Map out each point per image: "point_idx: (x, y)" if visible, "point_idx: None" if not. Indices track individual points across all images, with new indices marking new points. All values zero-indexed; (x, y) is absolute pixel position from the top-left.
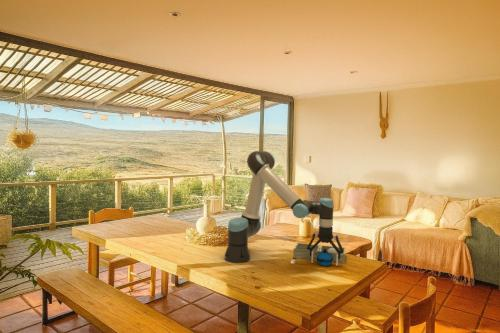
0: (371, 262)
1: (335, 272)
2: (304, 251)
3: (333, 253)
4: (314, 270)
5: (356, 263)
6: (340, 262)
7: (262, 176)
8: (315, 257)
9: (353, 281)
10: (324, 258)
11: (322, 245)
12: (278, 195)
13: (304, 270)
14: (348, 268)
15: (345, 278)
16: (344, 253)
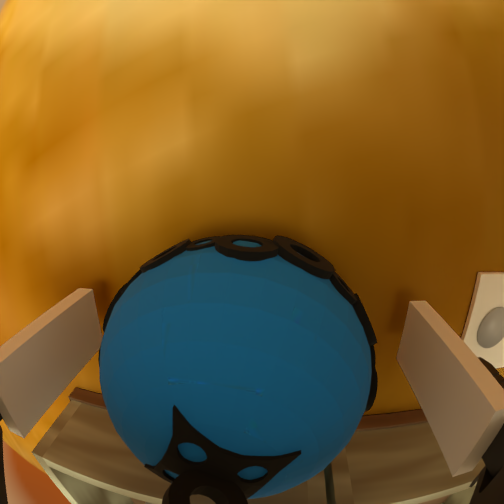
0: (3, 427)
1: (103, 133)
2: (481, 465)
3: (136, 490)
4: (366, 104)
5: None
6: (100, 409)
7: None
8: (358, 450)
9: (6, 15)
10: (218, 266)
11: None
12: None
13: (467, 83)
14: (30, 310)
15: (38, 29)
16: (50, 474)
